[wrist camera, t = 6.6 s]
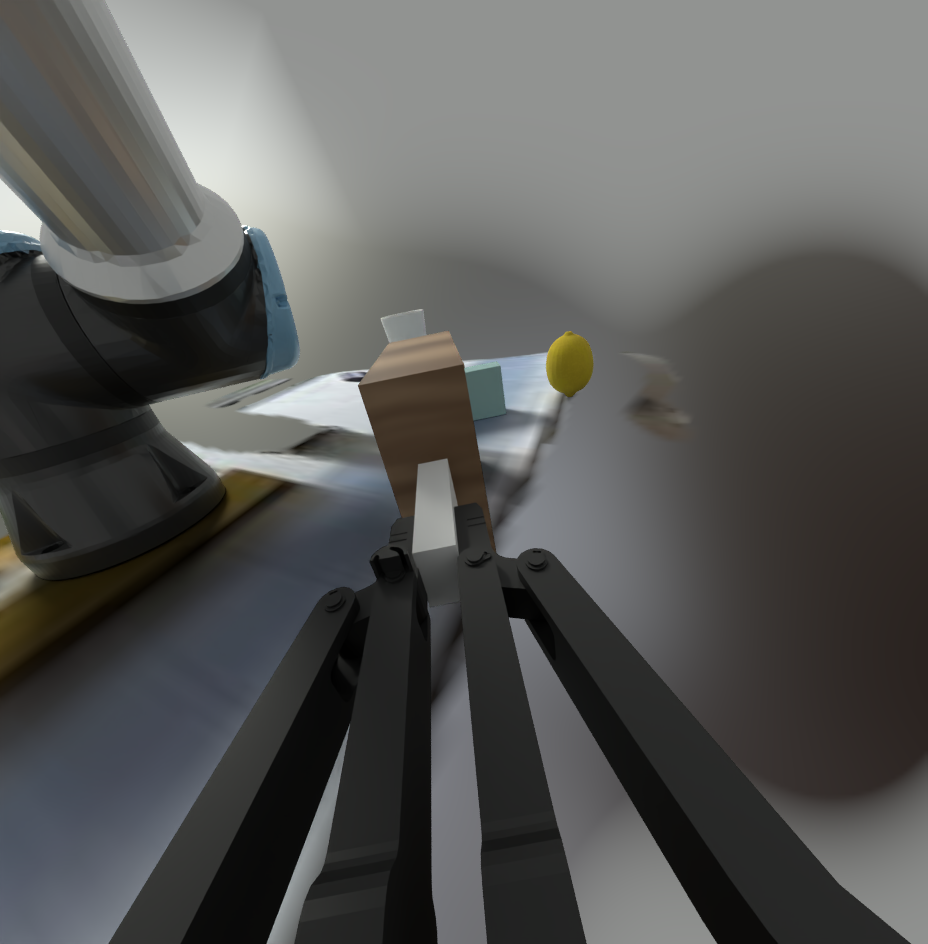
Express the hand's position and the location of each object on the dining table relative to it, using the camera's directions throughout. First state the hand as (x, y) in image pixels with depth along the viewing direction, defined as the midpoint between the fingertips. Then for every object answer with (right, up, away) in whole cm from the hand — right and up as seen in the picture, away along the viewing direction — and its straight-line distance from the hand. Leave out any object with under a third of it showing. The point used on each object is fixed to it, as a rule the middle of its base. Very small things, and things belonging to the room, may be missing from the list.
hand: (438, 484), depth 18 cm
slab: (0, -2, +10) cm, 10 cm away
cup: (-8, +19, +51) cm, 55 cm away
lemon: (+15, +10, +26) cm, 32 cm away
